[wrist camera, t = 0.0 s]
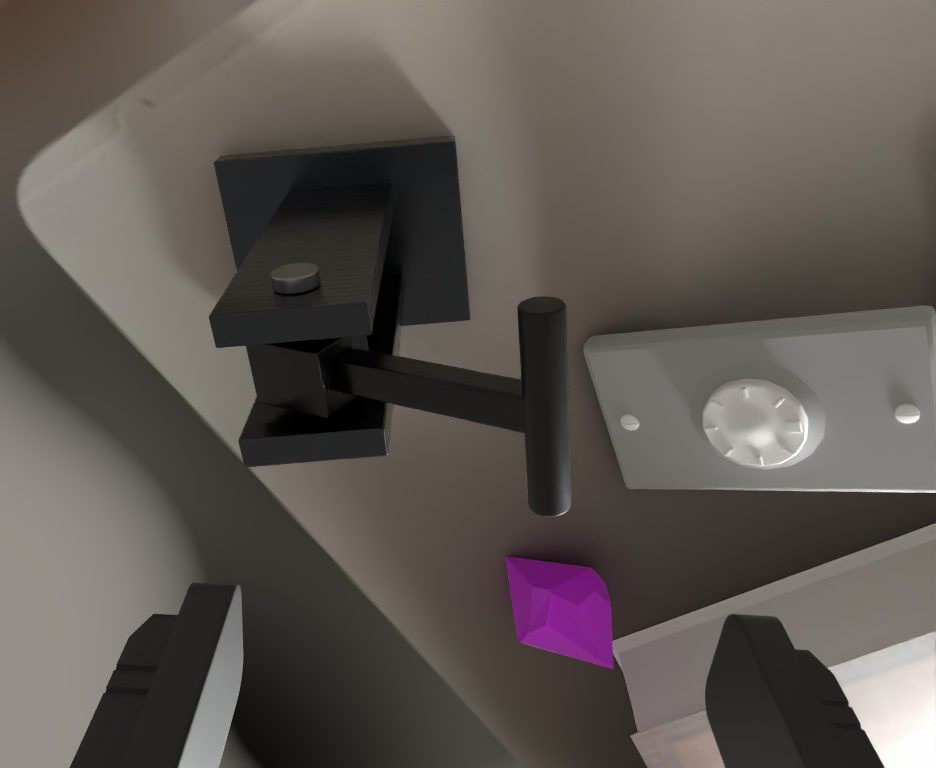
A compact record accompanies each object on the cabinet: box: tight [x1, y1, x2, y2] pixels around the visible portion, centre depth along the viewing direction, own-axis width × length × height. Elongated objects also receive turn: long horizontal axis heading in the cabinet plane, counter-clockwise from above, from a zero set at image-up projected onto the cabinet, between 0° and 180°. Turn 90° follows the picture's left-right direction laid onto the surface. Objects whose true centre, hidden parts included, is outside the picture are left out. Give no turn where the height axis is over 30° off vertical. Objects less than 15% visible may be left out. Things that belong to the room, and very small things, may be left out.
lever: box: [246, 296, 572, 517], centre depth 24 cm, size 10×6×2 cm
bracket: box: [209, 136, 470, 467], centre depth 31 cm, size 10×8×15 cm
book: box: [612, 523, 936, 768], centre depth 49 cm, size 24×28×6 cm
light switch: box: [583, 305, 936, 493], centre depth 39 cm, size 8×6×14 cm
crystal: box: [505, 556, 613, 669], centre depth 45 cm, size 5×5×5 cm
